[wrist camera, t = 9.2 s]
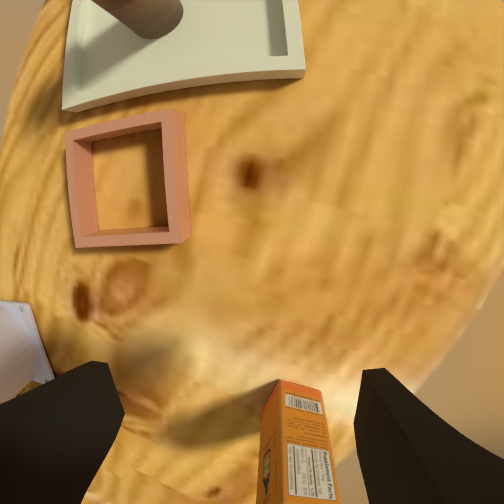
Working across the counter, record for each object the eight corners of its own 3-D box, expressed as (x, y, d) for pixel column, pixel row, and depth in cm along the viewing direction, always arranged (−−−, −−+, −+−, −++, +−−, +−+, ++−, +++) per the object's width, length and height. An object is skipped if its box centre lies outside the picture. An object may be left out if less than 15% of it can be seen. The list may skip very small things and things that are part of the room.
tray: (76, 112, 16) (61, 109, 15) (89, -18, 14) (78, -27, 12) (303, 78, 15) (305, 69, 13) (285, -60, 12) (285, -74, 11)
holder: (93, 240, 18) (75, 247, 17) (83, 134, 17) (65, 132, 15) (192, 235, 18) (181, 243, 16) (184, 114, 16) (172, 108, 14)
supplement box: (305, 421, 20) (309, 539, 11) (261, 408, 20) (246, 529, 11) (327, 389, 20) (343, 514, 10) (280, 375, 20) (273, 505, 10)
